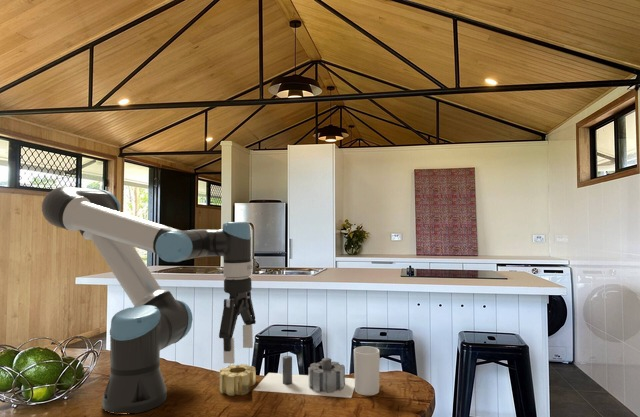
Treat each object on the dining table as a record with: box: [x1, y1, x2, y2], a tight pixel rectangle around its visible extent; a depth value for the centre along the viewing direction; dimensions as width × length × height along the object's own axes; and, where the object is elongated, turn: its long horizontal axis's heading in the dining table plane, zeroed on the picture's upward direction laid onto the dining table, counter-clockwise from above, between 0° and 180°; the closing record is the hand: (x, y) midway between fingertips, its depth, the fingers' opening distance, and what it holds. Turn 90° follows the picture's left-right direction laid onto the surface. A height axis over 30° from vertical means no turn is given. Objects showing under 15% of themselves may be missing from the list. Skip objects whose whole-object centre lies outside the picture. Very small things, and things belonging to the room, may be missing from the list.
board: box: [253, 355, 355, 399], centre depth 117 cm, size 26×13×8 cm, turn 79°
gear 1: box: [219, 363, 257, 397], centre depth 119 cm, size 10×10×5 cm
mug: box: [353, 345, 381, 396], centre depth 115 cm, size 10×7×12 cm, turn 166°
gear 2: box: [307, 360, 346, 393], centre depth 116 cm, size 10×10×5 cm
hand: (239, 354), depth 119 cm, fingers open, 13 cm apart
